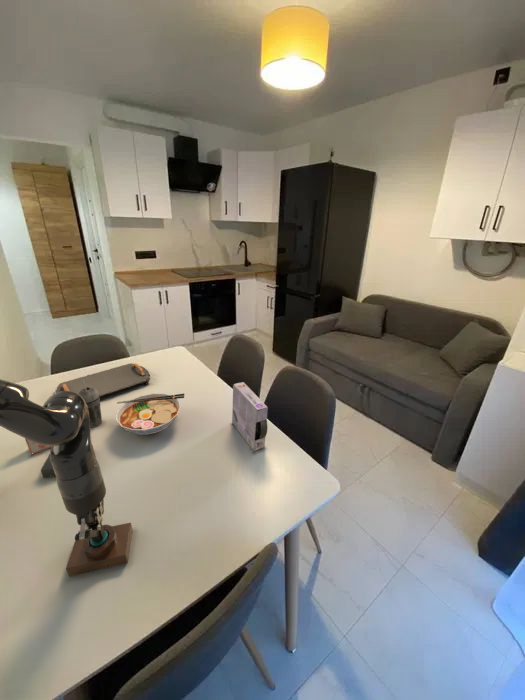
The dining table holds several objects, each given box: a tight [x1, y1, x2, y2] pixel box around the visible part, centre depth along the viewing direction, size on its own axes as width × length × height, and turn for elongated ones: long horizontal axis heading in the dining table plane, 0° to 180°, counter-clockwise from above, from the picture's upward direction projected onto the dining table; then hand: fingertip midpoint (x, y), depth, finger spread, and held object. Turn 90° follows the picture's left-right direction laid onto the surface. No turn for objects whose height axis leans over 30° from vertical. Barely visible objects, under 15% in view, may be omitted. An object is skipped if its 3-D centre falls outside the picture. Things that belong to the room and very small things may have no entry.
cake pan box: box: [231, 381, 269, 452], centre depth 104 cm, size 19×5×18 cm, turn 31°
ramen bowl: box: [115, 393, 185, 436], centre depth 109 cm, size 25×23×8 cm
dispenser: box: [65, 522, 134, 578], centre depth 68 cm, size 12×8×5 cm, turn 104°
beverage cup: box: [78, 379, 103, 428], centre depth 107 cm, size 7×7×20 cm
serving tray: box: [55, 363, 151, 398], centre depth 134 cm, size 39×23×6 cm, turn 133°
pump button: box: [90, 530, 109, 548], centre depth 67 cm, size 4×4×2 cm
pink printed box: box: [24, 438, 52, 456], centre depth 97 cm, size 4×7×10 cm, turn 132°
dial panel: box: [40, 453, 56, 478], centre depth 92 cm, size 11×9×3 cm
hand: (98, 537), depth 66 cm, fingers closed
